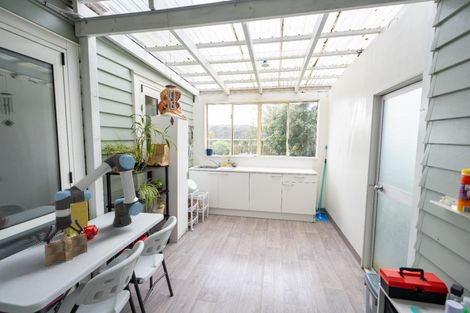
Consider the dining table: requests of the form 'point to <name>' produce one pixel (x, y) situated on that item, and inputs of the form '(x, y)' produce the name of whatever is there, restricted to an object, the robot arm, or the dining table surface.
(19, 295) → the dining table surface
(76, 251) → the brown wooden board
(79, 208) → the book
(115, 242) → the dining table surface
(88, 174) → the robot arm
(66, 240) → the tan wooden slab
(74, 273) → the dining table surface
